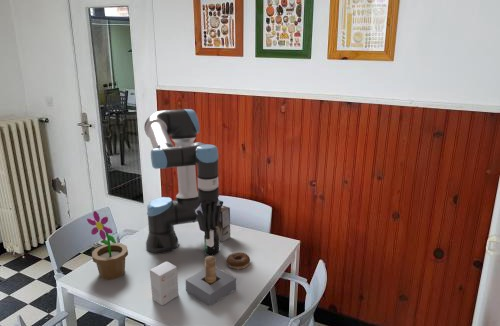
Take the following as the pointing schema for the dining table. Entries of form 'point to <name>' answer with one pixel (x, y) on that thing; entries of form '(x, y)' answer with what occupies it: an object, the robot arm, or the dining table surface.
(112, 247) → the flowerpot
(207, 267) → the oak peg
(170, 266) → the small box
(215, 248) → the supplement bottle
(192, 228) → the dining table surface
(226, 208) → the coffee box
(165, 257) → the dining table surface
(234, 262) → the donut
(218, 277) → the socket block
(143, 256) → the dining table surface
